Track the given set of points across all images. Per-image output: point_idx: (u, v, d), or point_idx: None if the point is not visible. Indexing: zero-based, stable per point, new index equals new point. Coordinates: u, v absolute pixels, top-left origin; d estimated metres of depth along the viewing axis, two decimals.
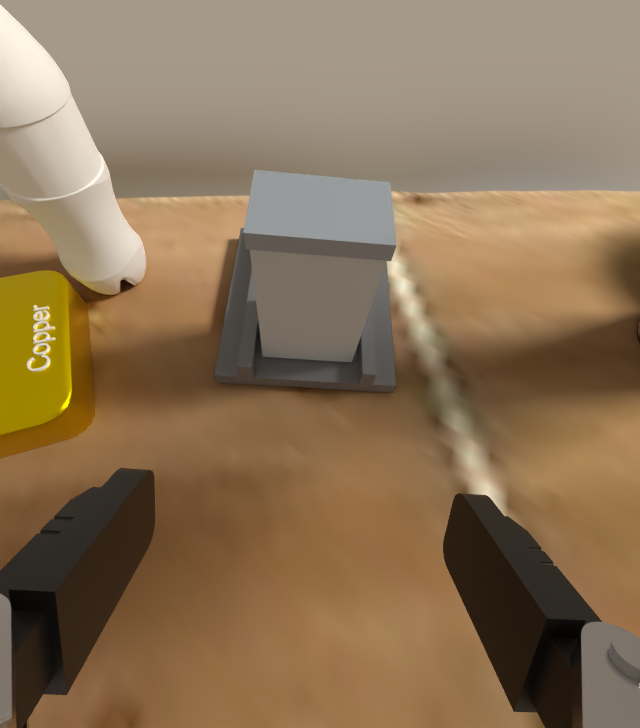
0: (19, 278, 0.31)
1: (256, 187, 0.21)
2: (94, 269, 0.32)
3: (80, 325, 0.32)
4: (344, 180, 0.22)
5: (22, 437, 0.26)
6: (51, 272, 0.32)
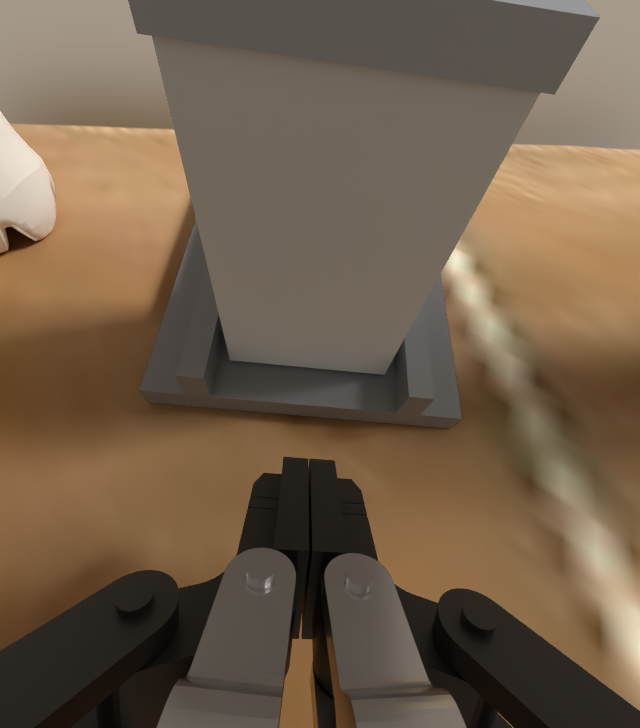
0: None
1: None
2: None
3: None
4: None
5: None
6: None
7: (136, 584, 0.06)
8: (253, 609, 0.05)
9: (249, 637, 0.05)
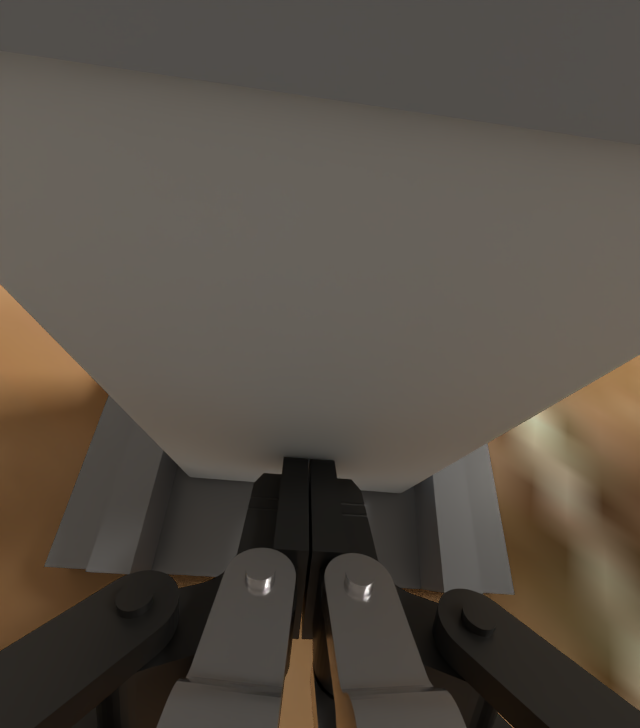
0: None
1: None
2: None
3: None
4: None
5: None
6: None
7: (136, 584, 0.06)
8: (253, 609, 0.05)
9: (249, 637, 0.05)
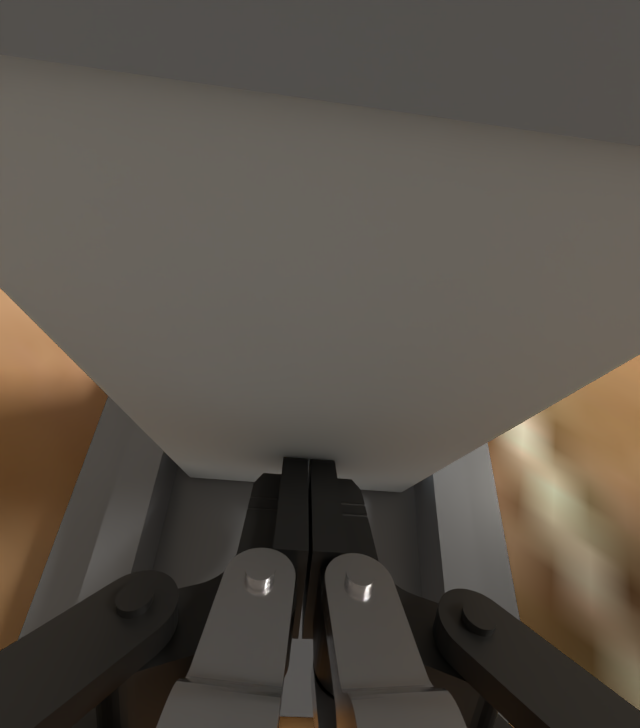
0: None
1: None
2: None
3: None
4: None
5: None
6: None
7: (135, 584, 0.06)
8: (253, 609, 0.05)
9: (248, 637, 0.05)
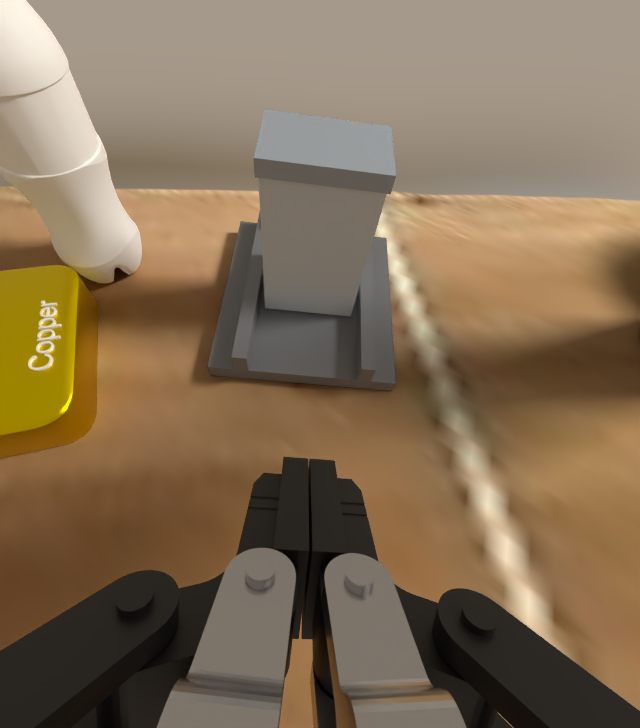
0: (29, 271, 0.30)
1: (266, 123, 0.23)
2: (87, 255, 0.31)
3: (88, 324, 0.30)
4: (348, 122, 0.24)
5: (16, 441, 0.25)
6: (63, 267, 0.30)
7: (136, 584, 0.06)
8: (253, 609, 0.05)
9: (249, 637, 0.05)
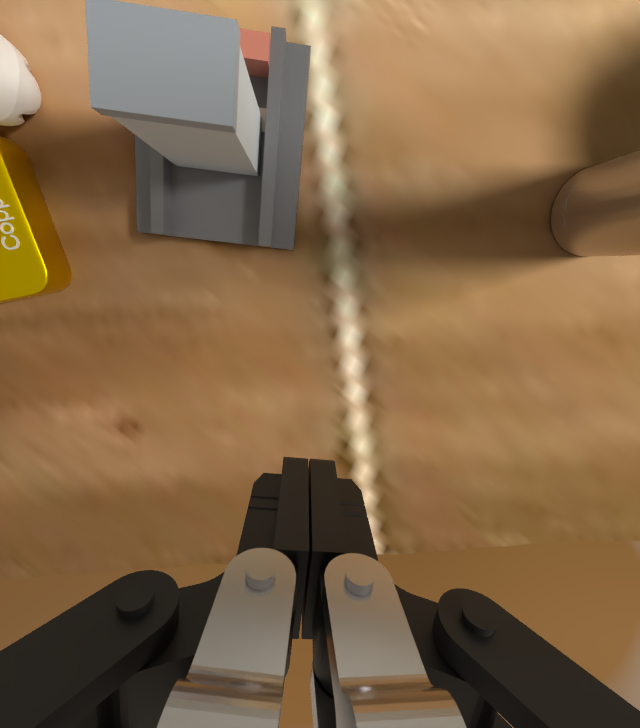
0: None
1: (92, 31, 0.20)
2: None
3: (29, 189, 0.35)
4: (185, 15, 0.20)
5: (25, 296, 0.37)
6: None
7: (136, 584, 0.06)
8: (253, 609, 0.05)
9: (249, 637, 0.05)
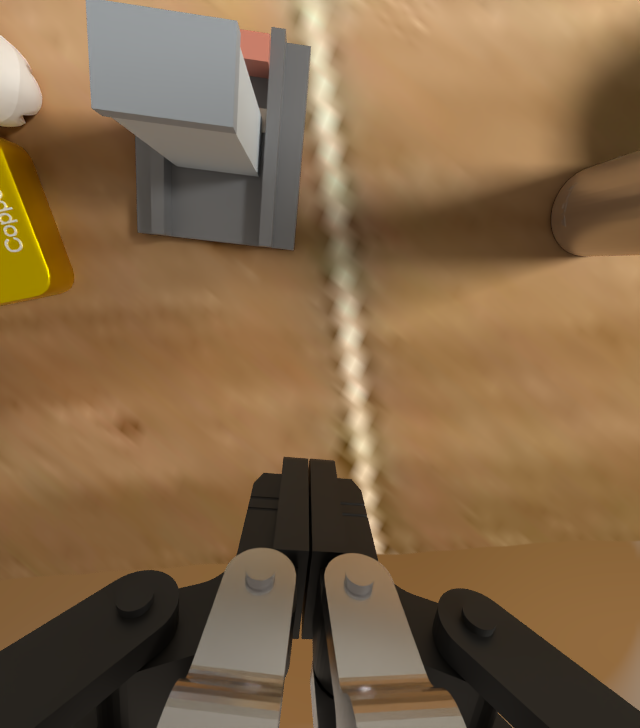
0: None
1: (92, 33, 0.21)
2: None
3: (33, 192, 0.35)
4: (186, 17, 0.21)
5: (28, 299, 0.37)
6: None
7: (136, 584, 0.06)
8: (253, 609, 0.05)
9: (249, 637, 0.05)
